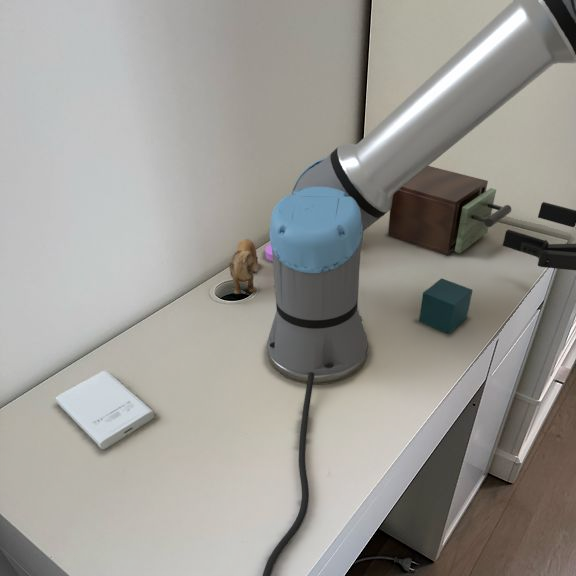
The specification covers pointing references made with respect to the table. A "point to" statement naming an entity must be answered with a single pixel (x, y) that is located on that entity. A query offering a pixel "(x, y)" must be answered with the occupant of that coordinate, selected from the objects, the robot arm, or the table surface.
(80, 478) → the table surface
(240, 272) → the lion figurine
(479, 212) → the drawer
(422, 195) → the cabinet
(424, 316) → the block
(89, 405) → the hard drive
